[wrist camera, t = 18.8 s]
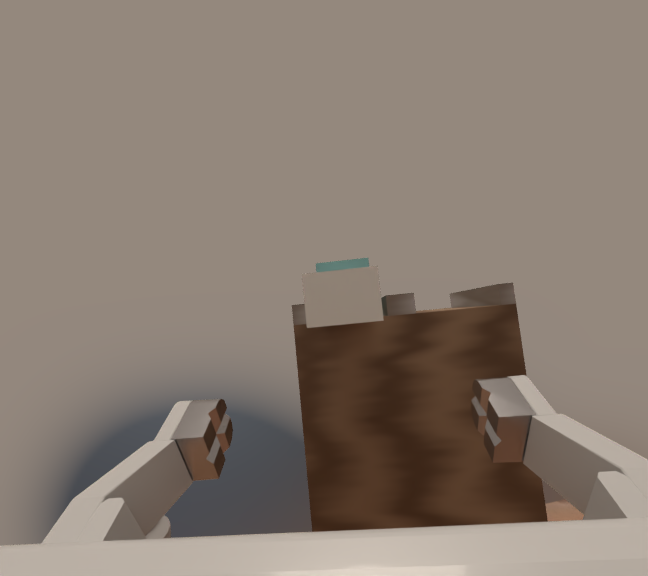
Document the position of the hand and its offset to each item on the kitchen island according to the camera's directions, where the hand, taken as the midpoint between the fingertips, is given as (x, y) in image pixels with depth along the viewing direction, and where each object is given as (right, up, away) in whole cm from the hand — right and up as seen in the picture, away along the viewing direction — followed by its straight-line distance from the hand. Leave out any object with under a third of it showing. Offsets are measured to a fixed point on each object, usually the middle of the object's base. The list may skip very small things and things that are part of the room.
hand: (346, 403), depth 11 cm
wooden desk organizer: (+8, -24, +17) cm, 31 cm away
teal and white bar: (+1, +1, +14) cm, 14 cm away
